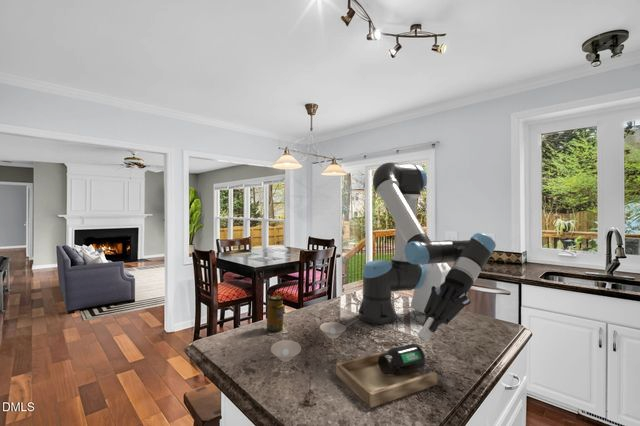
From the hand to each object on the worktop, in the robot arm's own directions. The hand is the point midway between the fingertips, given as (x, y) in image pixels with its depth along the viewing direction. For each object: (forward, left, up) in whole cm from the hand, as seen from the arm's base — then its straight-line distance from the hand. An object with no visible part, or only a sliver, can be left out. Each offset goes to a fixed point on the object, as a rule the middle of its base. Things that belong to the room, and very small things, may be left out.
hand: (421, 338), depth 90 cm
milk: (-7, +52, -8) cm, 53 cm away
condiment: (-53, +1, -9) cm, 53 cm away
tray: (-7, -11, -9) cm, 15 cm away
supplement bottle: (-1, -1, -5) cm, 5 cm away
